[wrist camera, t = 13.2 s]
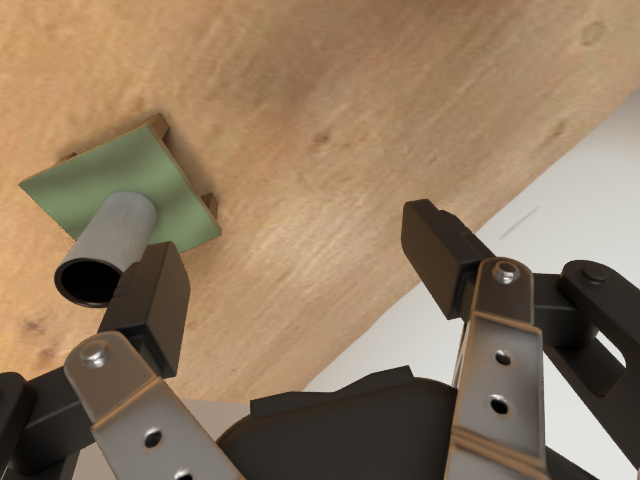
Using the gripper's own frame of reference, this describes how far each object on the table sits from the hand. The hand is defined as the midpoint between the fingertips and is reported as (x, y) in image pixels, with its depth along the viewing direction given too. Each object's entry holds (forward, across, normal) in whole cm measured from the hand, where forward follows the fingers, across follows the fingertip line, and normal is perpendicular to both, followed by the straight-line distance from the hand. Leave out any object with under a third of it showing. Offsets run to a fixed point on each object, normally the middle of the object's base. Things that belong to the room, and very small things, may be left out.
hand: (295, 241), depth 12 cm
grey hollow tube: (+20, +14, +8) cm, 26 cm away
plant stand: (+27, +14, +8) cm, 32 cm away
